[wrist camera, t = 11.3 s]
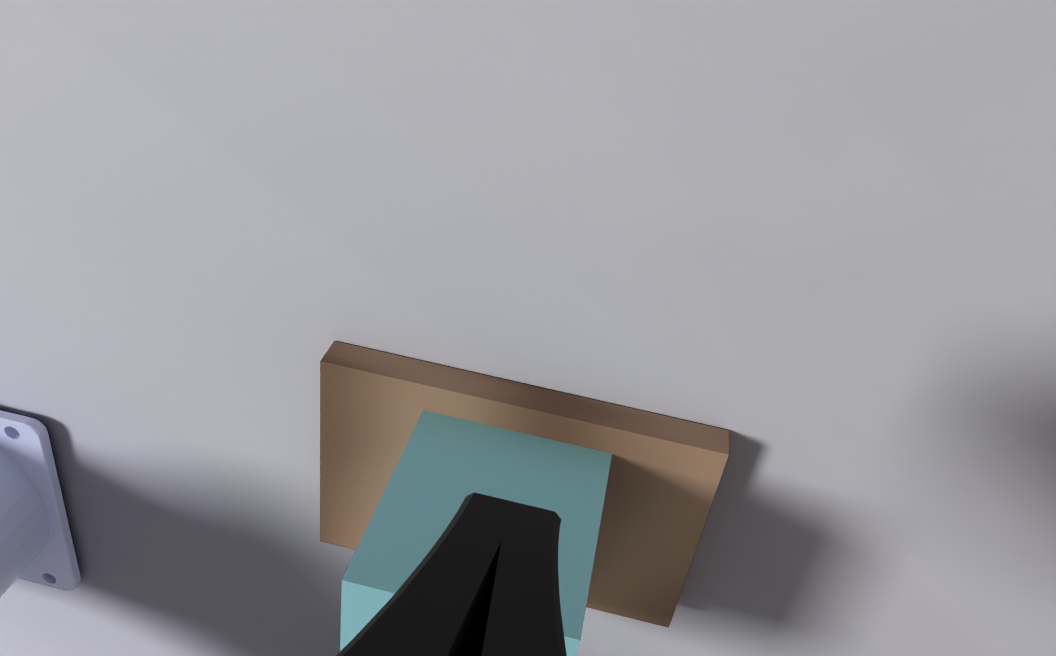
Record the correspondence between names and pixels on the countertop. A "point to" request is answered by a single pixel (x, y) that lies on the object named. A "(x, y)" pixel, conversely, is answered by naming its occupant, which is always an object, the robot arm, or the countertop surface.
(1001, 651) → the countertop surface
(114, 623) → the countertop surface
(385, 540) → the teal matte cube
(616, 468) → the brown rectangular board
